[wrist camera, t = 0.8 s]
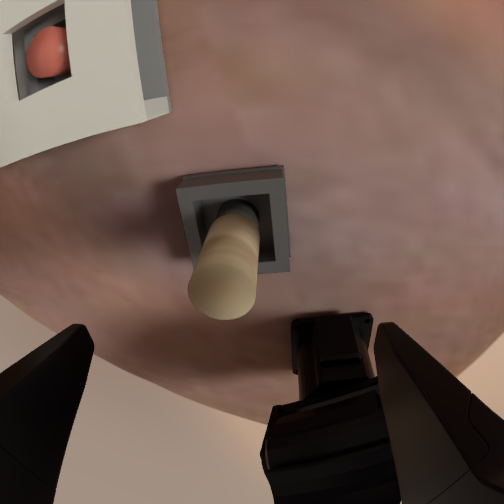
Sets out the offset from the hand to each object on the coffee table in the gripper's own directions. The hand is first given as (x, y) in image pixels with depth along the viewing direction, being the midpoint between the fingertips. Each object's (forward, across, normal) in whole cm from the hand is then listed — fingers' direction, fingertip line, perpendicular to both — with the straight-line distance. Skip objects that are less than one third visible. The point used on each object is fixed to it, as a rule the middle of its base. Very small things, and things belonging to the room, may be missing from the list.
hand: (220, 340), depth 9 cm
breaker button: (+10, +10, -11) cm, 18 cm away
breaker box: (+12, +10, -11) cm, 19 cm away
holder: (+12, +1, +1) cm, 12 cm away
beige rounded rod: (+12, +1, +1) cm, 12 cm away
